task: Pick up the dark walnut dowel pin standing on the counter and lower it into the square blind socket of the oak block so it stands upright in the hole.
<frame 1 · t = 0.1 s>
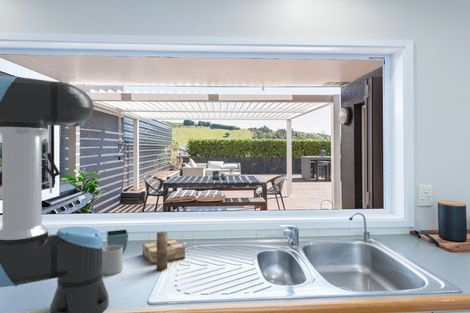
hand: (31, 193, 124), 28 cm above the counter, fingers open, 13 cm apart
socket block: (163, 256, 134), on the counter
flower pot: (117, 252, 139), on the counter
pin: (161, 268, 120), on the counter
cup: (114, 270, 118), on the counter
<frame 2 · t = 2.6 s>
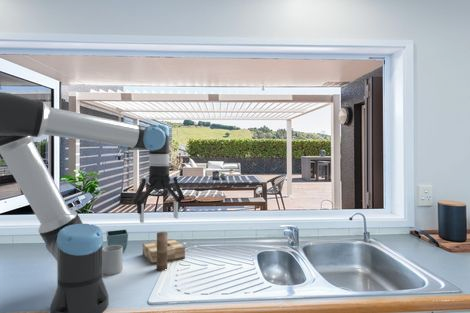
hand: (159, 219, 120), 19 cm above the counter, fingers open, 13 cm apart
nothing on the counter moved.
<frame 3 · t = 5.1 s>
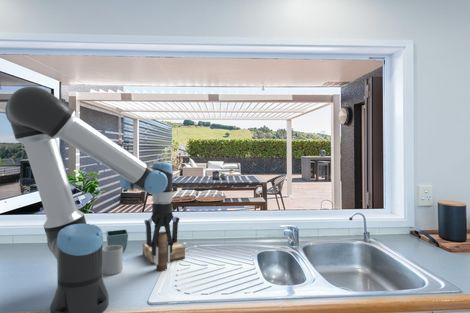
hand: (161, 262, 120), 3 cm above the counter, fingers closed on pin, 4 cm apart
pin: (161, 268, 120), on the counter, touching gripper
everything else where it was.
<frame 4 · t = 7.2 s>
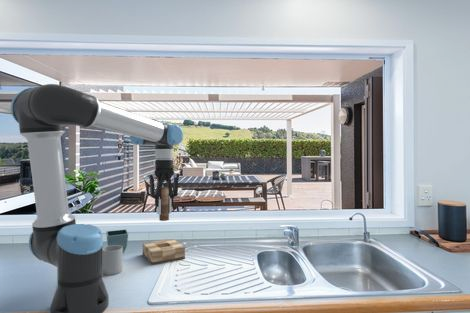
hand: (164, 213, 133), 19 cm above the counter, fingers closed on pin, 4 cm apart
pin: (164, 219, 133), point 16 cm above the counter, touching gripper
everything else where it was.
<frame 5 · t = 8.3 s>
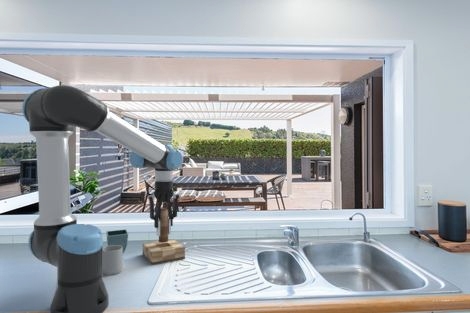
hand: (163, 234, 133), 10 cm above the counter, fingers closed on pin, 4 cm apart
pin: (163, 241, 134), point 7 cm above the counter, touching gripper
everything else where it was.
when the fingers open (6 cm above the counter, at t = 9.3 s): pin drops 2 cm, resting on socket block.
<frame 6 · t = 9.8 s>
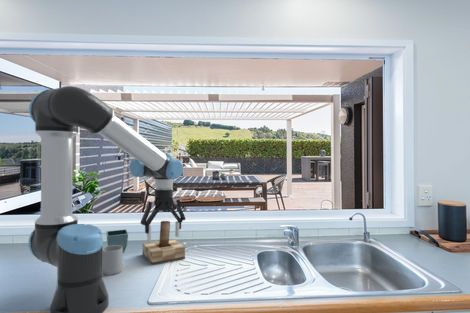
hand: (163, 238, 134), 8 cm above the counter, fingers open, 12 cm apart
pin: (163, 254, 134), point 1 cm above the counter, touching socket block
everything else where it was.
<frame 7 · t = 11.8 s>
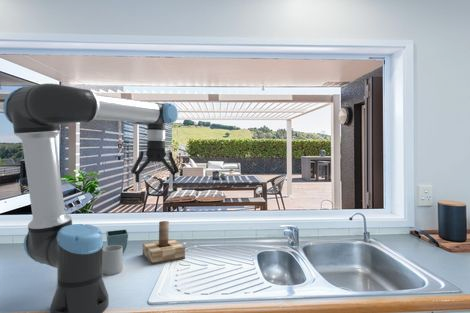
hand: (155, 189, 133), 29 cm above the counter, fingers open, 13 cm apart
nothing on the counter moved.
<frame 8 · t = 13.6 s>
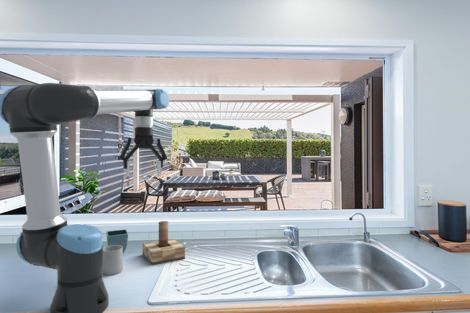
hand: (143, 176, 134), 35 cm above the counter, fingers open, 13 cm apart
nothing on the counter moved.
at the end: pin 0.1 cm off-centre on the socket block, point 1.0 cm above the socket block's base; pin tilted 0°; the gripper is holding nothing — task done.
